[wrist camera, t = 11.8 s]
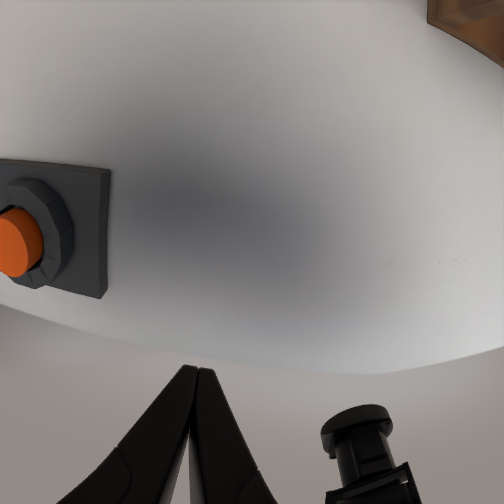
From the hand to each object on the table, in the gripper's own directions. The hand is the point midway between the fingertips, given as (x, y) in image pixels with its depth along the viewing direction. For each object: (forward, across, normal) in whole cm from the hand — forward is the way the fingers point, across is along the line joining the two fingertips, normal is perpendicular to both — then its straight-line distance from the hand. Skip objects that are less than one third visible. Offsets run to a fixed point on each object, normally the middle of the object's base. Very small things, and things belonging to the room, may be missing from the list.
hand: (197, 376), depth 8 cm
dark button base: (+11, +12, +2) cm, 16 cm away
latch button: (+8, +12, +2) cm, 14 cm away
